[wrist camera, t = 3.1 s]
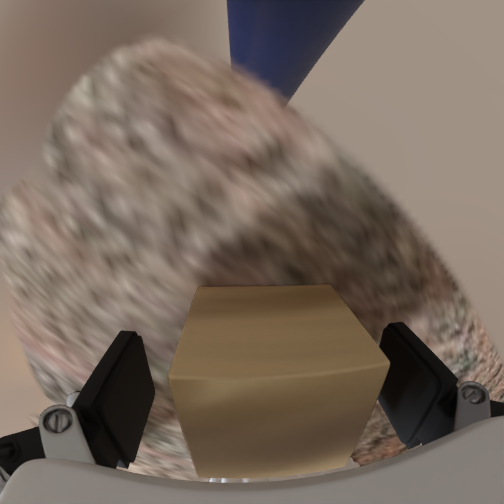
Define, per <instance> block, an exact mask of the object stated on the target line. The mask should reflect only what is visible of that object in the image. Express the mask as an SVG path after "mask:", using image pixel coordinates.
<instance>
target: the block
mask: <svg viewBox="0 0 504 504" xmlns="http://www.w3.org/2000/svg"><path fill="white" fill-rule="evenodd" d="M389 367H390V361H389V360H388V358H387V357H386V356H385V354H384V353H383V352H382V350H381V349H380V348H379V346H378V345H377V344H376V342H375V341H374V340H373V338H372V337H371V336H370V334H369V333H368V332H367V330H366V329H365V328H364V326H363V325H362V324H361V323H360V321H359V320H358V319H357V317H356V316H355V315H354V314H353V312H352V311H351V310H350V308H349V307H348V306H347V305H346V303H345V302H344V301H343V300H342V298H341V297H340V296H339V295H338V293H337V292H336V291H335V290H334V288H333V287H332V286H331V285H330V284H321V285H293V286H247V287H197V290H196V293H195V296H194V299H193V301H192V304H191V307H190V310H189V313H188V316H187V319H186V322H185V325H184V328H183V331H182V334H181V337H180V340H179V343H178V346H177V349H176V352H175V355H174V358H173V361H172V364H171V367H170V370H169V374H168V381H169V385H170V389H171V393H172V397H173V401H174V405H175V408H176V412H177V416H178V419H179V422H180V426H181V429H182V432H183V436H184V439H185V442H186V445H187V448H188V451H189V454H190V457H191V460H192V462H193V465H194V468H195V471H196V473H197V476H198V477H203V478H229V479H242V478H268V477H280V476H290V475H299V474H306V473H313V472H319V471H325V470H330V469H335V468H340V467H344V466H346V464H347V462H348V460H349V458H350V457H351V455H352V453H353V451H354V449H355V447H356V445H357V443H358V441H359V439H360V437H361V435H362V433H363V431H364V429H365V427H366V424H367V422H368V420H369V418H370V416H371V413H372V411H373V409H374V406H375V404H376V401H377V399H378V396H379V394H380V391H381V389H382V386H383V384H384V381H385V378H386V375H387V372H388V370H389Z"/></svg>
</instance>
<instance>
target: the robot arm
mask: <svg viewBox="0 0 504 504" xmlns="http://www.w3.org/2000/svg"><path fill="white" fill-rule="evenodd" d="M379 348H380V349H381V350H382V352H383V353H384V354H385V356H386V357H387V358H388V360H389V361H390V367H389V370H388V372H387V375H386V378H385V381H384V384H383V386H382V389H381V391H380V394H379V396H378V401H379V403H380V404H381V406H382V408H383V410H384V412H385V413H386V415H387V417H388V419H389V420H390V422H391V424H392V426H393V428H394V430H395V431H396V433H397V435H398V437H399V439H400V441H401V442H402V443H404V444H406V446H407V448H408V449H410V448H413V447H415V446H418V445H420V443H422V445H423V446H421V447H418V448H416V449H413V450H410V451H408V452H405V453H402V454H400V455H397V456H394V457H391V458H388V459H385V460H382V461H378V462H375V463H371V464H368V465H364V466H361V467H357V468H353V469H348V470H344V471H340V472H335V473H330V474H325V475H319V476H313V477H306V478H299V479H291V480H282V481H270V482H250V483H217V482H198V481H186V480H177V479H169V478H162V477H155V476H148V475H142V474H137V473H132V472H127V471H123V470H118V469H116V467H117V466H118V467H122V468H127V469H128V467H129V464H130V462H134V461H135V458H136V455H137V451H138V448H139V444H140V441H141V438H142V435H143V431H144V428H145V425H146V422H147V419H148V415H149V412H150V409H151V406H152V403H153V400H154V397H155V387H154V384H153V380H152V377H151V373H150V369H149V365H148V361H147V357H146V353H145V349H144V345H143V340H142V337H141V336H138V335H137V333H136V332H135V331H123V330H122V331H120V332H119V334H118V335H117V337H116V338H115V340H114V341H113V343H112V344H111V345H110V347H109V348H108V350H107V351H106V353H105V354H104V356H103V357H102V359H101V360H100V362H99V364H98V365H97V366H96V368H95V370H94V371H93V373H92V374H91V376H90V377H89V379H88V380H87V382H86V384H85V385H84V387H83V388H82V390H81V392H80V393H79V395H78V397H77V398H76V400H75V402H74V403H73V405H72V407H69V406H66V405H61V404H59V405H53V406H50V407H48V408H47V409H45V410H44V411H43V412H42V414H41V415H40V418H39V426H38V427H35V428H32V429H29V430H25V431H22V432H18V433H15V434H11V435H8V436H4V437H2V438H0V504H504V403H502V402H497V401H492V400H490V398H489V393H488V391H487V389H486V388H485V387H484V386H483V385H481V384H480V383H477V382H474V381H467V382H464V383H462V384H461V385H460V386H459V387H457V386H456V383H457V381H458V378H457V377H456V376H455V375H454V374H453V373H452V372H451V371H450V370H449V369H448V368H447V367H446V365H445V364H444V363H443V362H442V361H441V360H440V359H439V358H438V357H437V356H436V355H435V354H434V353H433V352H432V351H431V350H430V349H429V348H428V347H427V346H426V345H425V344H424V343H423V342H422V341H421V340H420V339H419V338H418V337H417V336H416V335H415V334H414V333H413V332H412V331H411V330H410V329H409V328H408V327H407V326H406V325H405V324H404V323H403V322H396V323H390V324H388V325H387V327H386V328H384V330H383V334H382V338H381V341H380V345H379Z"/></svg>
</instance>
